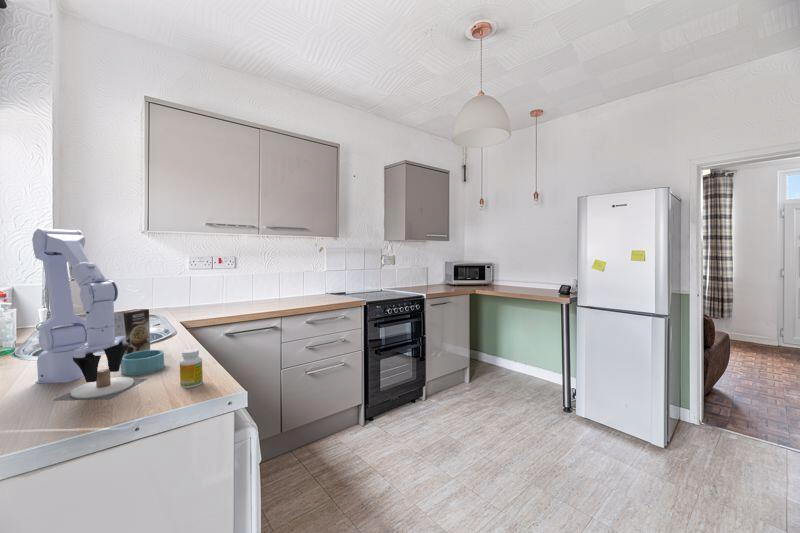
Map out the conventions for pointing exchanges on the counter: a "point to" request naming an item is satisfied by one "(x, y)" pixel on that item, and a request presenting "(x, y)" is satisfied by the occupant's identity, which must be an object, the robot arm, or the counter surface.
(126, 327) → the coffee box
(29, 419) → the counter surface
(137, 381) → the mat
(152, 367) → the bowl
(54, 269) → the robot arm
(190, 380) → the supplement bottle
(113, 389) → the lid
